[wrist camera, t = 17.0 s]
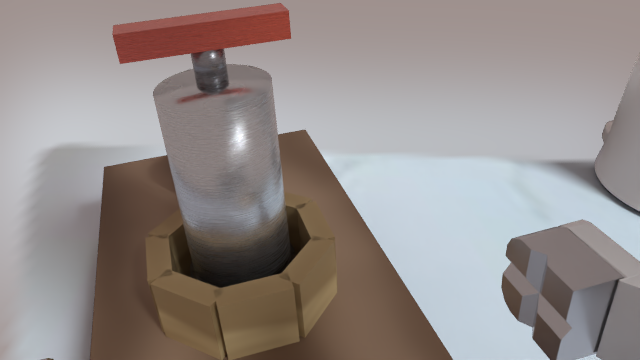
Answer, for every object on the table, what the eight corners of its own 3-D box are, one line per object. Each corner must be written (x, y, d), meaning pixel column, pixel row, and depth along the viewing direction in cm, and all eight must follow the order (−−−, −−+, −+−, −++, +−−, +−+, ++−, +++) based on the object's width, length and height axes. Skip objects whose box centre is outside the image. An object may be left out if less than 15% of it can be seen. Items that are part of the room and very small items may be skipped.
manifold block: (310, 198, 43) (302, 90, 38) (444, 449, 25) (459, 304, 20) (126, 238, 40) (91, 126, 35) (124, 557, 22) (53, 416, 17)
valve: (295, 241, 28) (270, -7, 22) (323, 303, 24) (301, 23, 18) (178, 268, 27) (114, 13, 21) (187, 338, 23) (111, 50, 17)
